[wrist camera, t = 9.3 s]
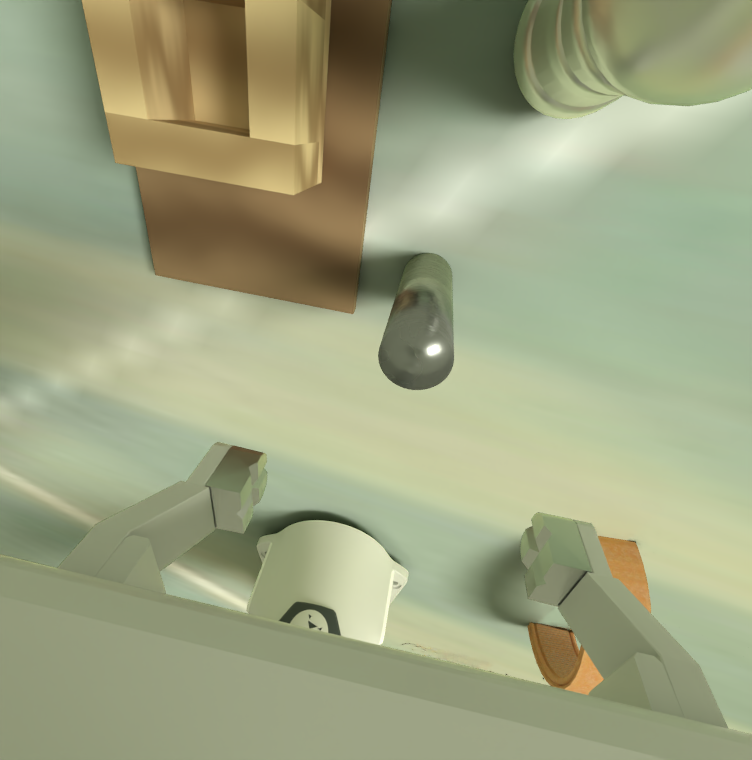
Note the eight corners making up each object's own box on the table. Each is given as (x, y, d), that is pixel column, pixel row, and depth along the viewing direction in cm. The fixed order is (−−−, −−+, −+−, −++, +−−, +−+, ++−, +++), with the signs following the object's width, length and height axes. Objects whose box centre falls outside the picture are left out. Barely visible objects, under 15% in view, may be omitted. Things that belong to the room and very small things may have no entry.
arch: (636, 540, 40) (685, 648, 32) (571, 633, 51) (594, 731, 43) (578, 531, 41) (610, 634, 33) (525, 624, 52) (540, 719, 44)
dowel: (445, 305, 30) (443, 396, 20) (398, 296, 30) (373, 381, 20) (457, 258, 28) (462, 332, 18) (407, 248, 28) (384, 317, 18)
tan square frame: (321, 182, 25) (293, 195, 21) (174, 156, 26) (115, 162, 21) (333, -36, 20) (298, -85, 15) (145, -64, 20) (57, -119, 16)
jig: (355, 308, 31) (325, 367, 23) (163, 271, 32) (75, 315, 24) (401, -85, 19) (371, -219, 12) (95, -129, 20) (-115, -279, 13)
